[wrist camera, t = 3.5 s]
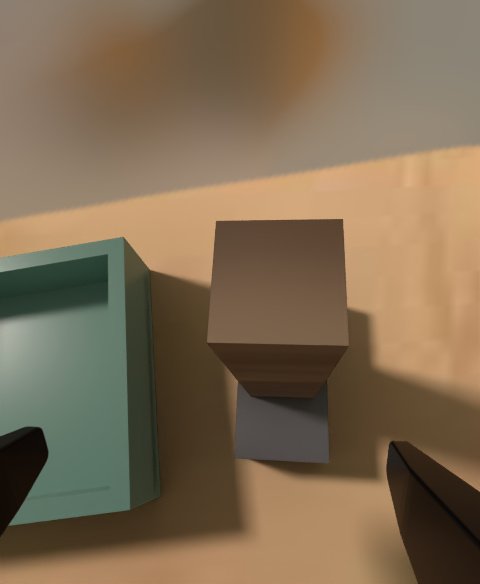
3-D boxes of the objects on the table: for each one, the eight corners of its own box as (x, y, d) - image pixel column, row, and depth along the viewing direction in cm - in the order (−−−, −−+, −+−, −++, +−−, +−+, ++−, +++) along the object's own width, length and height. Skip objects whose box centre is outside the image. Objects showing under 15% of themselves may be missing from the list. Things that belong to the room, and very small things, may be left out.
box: (149, 269, 23) (123, 236, 20) (160, 496, 19) (129, 510, 15) (-44, 301, 24) (-105, 275, 20) (-76, 527, 20) (-160, 547, 16)
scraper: (324, 460, 19) (392, 497, 7) (240, 456, 19) (163, 482, 7) (320, 301, 22) (364, 123, 10) (247, 300, 22) (199, 130, 10)
